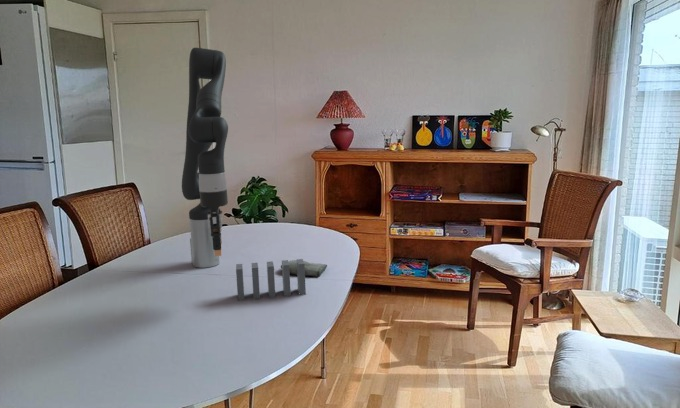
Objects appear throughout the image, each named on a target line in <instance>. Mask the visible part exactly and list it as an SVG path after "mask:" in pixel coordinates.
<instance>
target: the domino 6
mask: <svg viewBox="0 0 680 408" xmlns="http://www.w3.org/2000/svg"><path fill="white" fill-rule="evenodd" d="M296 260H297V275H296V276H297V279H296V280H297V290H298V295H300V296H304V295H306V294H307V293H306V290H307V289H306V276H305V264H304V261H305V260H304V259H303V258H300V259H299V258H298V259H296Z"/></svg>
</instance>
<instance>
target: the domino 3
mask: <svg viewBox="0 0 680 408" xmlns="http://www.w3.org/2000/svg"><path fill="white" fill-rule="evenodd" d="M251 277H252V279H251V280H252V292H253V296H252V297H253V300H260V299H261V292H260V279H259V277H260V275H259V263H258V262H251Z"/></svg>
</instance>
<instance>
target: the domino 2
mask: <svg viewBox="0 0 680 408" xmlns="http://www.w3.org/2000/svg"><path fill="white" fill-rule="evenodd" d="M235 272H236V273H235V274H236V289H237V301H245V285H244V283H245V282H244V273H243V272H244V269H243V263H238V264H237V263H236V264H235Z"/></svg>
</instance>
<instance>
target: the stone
mask: <svg viewBox="0 0 680 408" xmlns="http://www.w3.org/2000/svg"><path fill="white" fill-rule="evenodd" d="M303 261H304V264H305V277H307V276H309V277H316V278H320V276H322V274H323V272H325V270H326V269H327V267H328V264H323V263H316V262H315V263H314V262H308V261H305V260H303ZM288 263H289V270H290V274H291V275H295V276H297V259H296V260H295V259H293V260H288ZM280 269H281V270H282V264H280Z"/></svg>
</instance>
